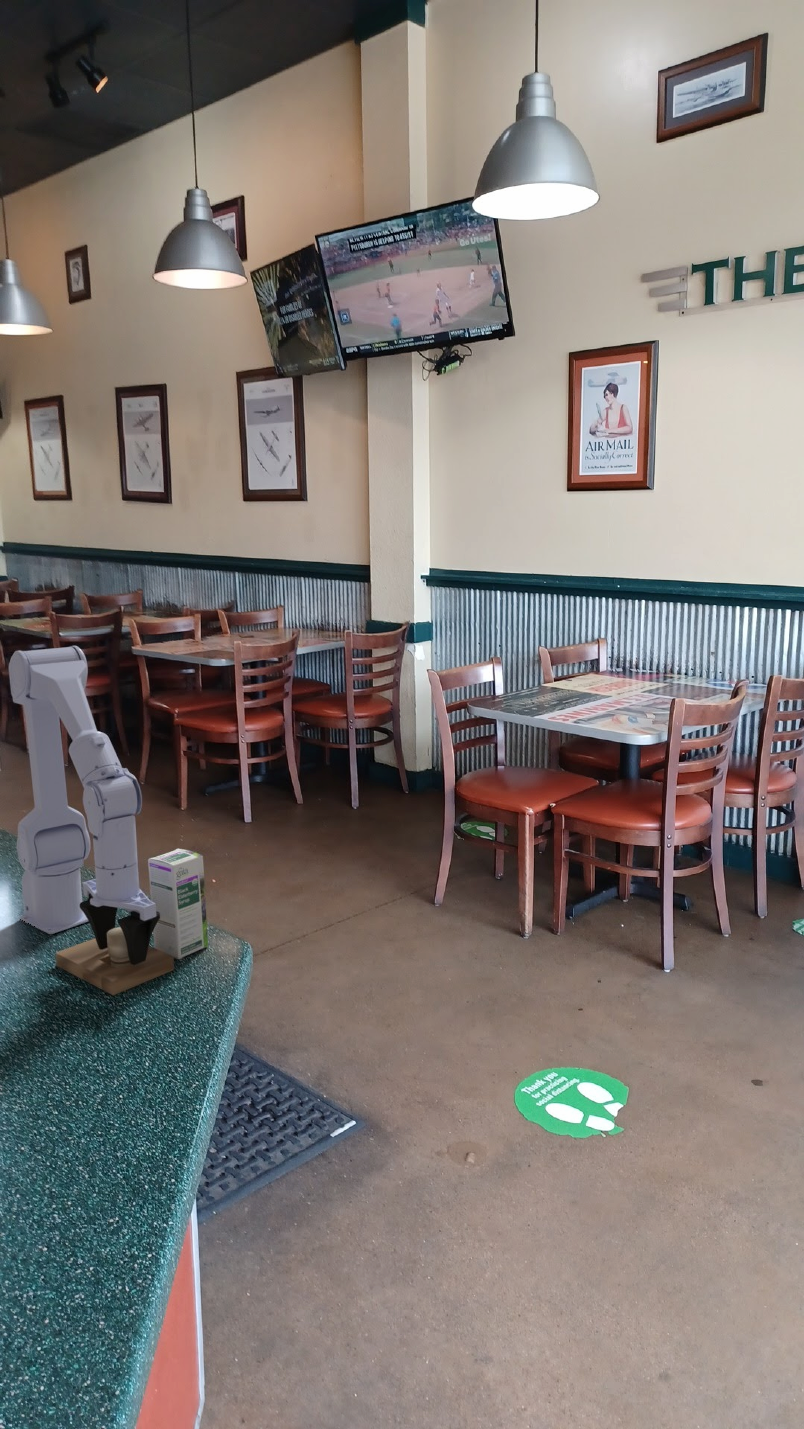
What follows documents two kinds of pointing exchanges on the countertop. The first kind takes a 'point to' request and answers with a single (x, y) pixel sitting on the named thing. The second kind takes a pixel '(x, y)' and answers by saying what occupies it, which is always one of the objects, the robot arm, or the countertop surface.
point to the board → (111, 967)
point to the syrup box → (179, 902)
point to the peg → (117, 948)
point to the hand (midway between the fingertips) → (122, 954)
